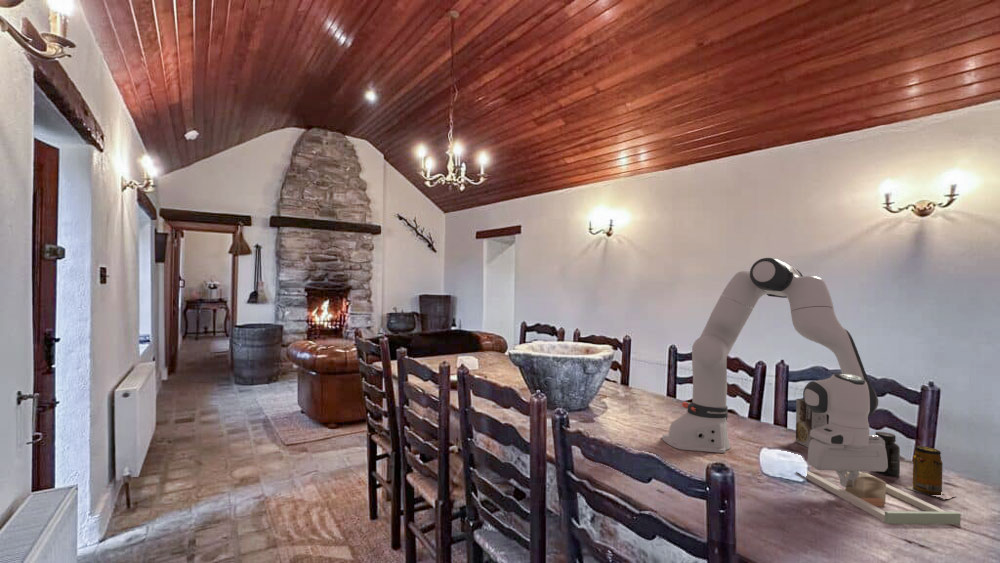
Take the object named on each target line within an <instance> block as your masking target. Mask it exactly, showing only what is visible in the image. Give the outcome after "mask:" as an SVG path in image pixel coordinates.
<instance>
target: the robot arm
mask: <svg viewBox="0 0 1000 563" xmlns="http://www.w3.org/2000/svg"><path fill="white" fill-rule="evenodd" d="M765 295H767V296H768V297H774V298H781V299H782V298H785V299H787V300H788V303H789V308H790V315H791V316H790V317H791V322H792V324H793V327H794V330H795V331H796V332H797V333H798V334H799V335H800V336H801V337H803V338H805V339H807V340H809V341H811V342H815V343H816V344H819V345H821V346H823V347H825V348H827V349H828V350H830V351H831V352H832V353H833V354H834V356H835V357H836V360H837V364H838V365H839V368H840V371H841V372H836V373H833V374H832V375H831V376H830V377H828V378H825V379H818V380H812V381H809V382H808V383H807V384H806V385H805V386H804V388H803V393H802V399H803V400H804V403H805V404H806V406H807V407H808V408H809V409H810V410H811V411H813V412H815V413H819V414H828V415H829V424H826V425H824V426H821V427H818V428H815V429H812V430H811V431H810V436H811V437H813V438H814V439H812V440H811V441H810V443H809V448H807V449H808V450H807V462H808V464H809V465H810V466H811V467H812V468H814V469H816V470H818V471H835V472H836V475H837V476H838V477H839V484H840V486H841V487H843V488H844V487H845V488H846V487H854V484H855V480H856V479H857V477H858V476H859V471H860V472H874V471H886V469H887V468H888V460H887V453H886V449H885V441H884V440H883V439H882V438H881V437H880V436H877V435H875V434H874V435H871V434H870V424H869V419H868V418H870V416H872V415H873V414H874V413H875V412H876V411H877V409H878V406H879V398H878V395H877V393H876V391H875V389H874V387H873V386H872V384H871V382H870V380H869V378H868V375H867V373H866V370H865V367H864V365H863V362H862V359H861V357H860V353H859V351H858V348H857V346H856V342H855V341H854V339H853V336H852V335H851V333H850V332H849V331H848V330H847V329H846V328H845V327H843V325H842V324H841V323H840V321H839V320H838V318H837V316H836V313H835V310H834V304H833V301H832V297H831V293H830V290H829V289H828V286H827V284H826V282H825V281H824V280H823V279H822V278H821V277H818V276H815V275H804V276H803V275H802V273H801V271H799V270H798V269H796V268H795V267H794V266H793V265H791V264H789V263H787V262H784V261H782V260H780V259H778V258H774V257H763V258H760V259H757V261H755V262H754V263H753V264H752V266H751V267H750V270H749V271H747V270H741V271H738V272H737V273H735V274H734V275H733V277H732V278H731V279H730V281H728V283H727V285H726V286H725V288H724V289H723V291H722V292H721V294H720V296H719V298H718V300H717V302H716V304H715V305H714V307H713V309H712V312H711V313H710V315H709V318H708V320H707V322H706V324H705V327H704V328H703V331H702V333H701V334H700V336H699V337H698V338H697V339H695V341H694V342H693V345H692V347H691V362H692V363H691V364H692V365H691V367H692V401H691V402H690V403H688V402H686V401H682V402H681V406H682V408H683V409H684V408H685V409H687V411H686V412H685V413H684V414H682V415H681V416H679V417H677V418H676V419H675V420H673V421H671V423H670V425H669V430H668V433H664V434H662V437H661V439H662V440H663V441H664V443H666V444H668V445H669V446H671V447H673V448H675V449H678V450H683V451H695V452H709V453H722V454H725V453H726V450H730V448H731V444H730V440H729V435H728V427H727V421H728V416H729V414H728V412H729V411H728V408H729V407H728V405H727V400H728V399H727V397H728V396H727V395H728V376H727V375H728V374H727V372H728V368H727V365H728V364H727V363H728V360H727V359H728V356H729V354H730V352H731V350H733V349H732V348H733V346H734V345H735V343H736V341H737V339H738V337H739V335H740V334H741V332H742V330H743V327H744V326H745V325H746V323H747V321H748V319H749V317H750V315H751V314H752V312H753V311H754V308H755V306H756V305H757V303H758V302H759V299H760V298H761V297H763V296H765ZM847 471H848V472H850V473H849V475H848V477H847V478H846V475H847Z"/></svg>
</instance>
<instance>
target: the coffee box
mask: <svg viewBox="0 0 1000 563" xmlns="http://www.w3.org/2000/svg"><path fill="white" fill-rule="evenodd" d="M795 402H796V405H795V406H796V410H795V442H796V443H797V444H800V445H802V446H804V447H805V448H807V449H808V448H809V443H810V441H811V440H812V439H814V438H813V437H811V436H810V431H811V430H812V429H815V428H818V427H821V426H824V425H826V424H829V415H828V414H819V413H815V412H813V411H811V410H810V409H809V408H808V407H807V406H806V404H805V403H804V400H803V398H796V401H795Z"/></svg>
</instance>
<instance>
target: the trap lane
mask: <svg viewBox="0 0 1000 563" xmlns="http://www.w3.org/2000/svg"><path fill="white" fill-rule="evenodd" d="M806 470H807V469H806ZM847 472H848V471H847ZM859 473H863V471H859ZM805 479H807V480H808V481H810V482H812V483H814V484H816V485H818V486H820V487H821V488H823V489H825V490H827V491H828V492H830V493H832V494H834V495H836V496H837V497H839V498H840V499H842V500H843V501H844V500H845V501H846V502H848V503H849V504H852V505H853V506H856V507H858V508H859V509H861V510H862V511H865V512H866V513H868V514H870V515H872V516H874V517H876V518H877V519H879V520H881V521H882V522H884V523H886V524H888V525H961V519H962V518H961V517H962V516H961V515H962V514H961V513H960V512H958V511H946V510H944V509H942V508H940V507H938V506H936V505H933V504H931V503H929V502H926V500H922V499H921V498H918V497H916V496H914V495H912V494H909V493H907V492H906V491H903V490H901V489H899V488H897V487H894V486H892V485H890V484H888V483H886V494H888V495H892V496H893V497H895V498H897V499H900V500H902V501H904V502H905V503H909V504H910V505H913V506H914V507H916V508H918V509H921V510H922V511H918V510H917V511H913V510H912V511H911V510H909V511H906V510H884V509H881V508H880V507H885V501H884V500H882V499H880V498H859V497H857V496H855V495H853V494H851V493H849V492H847V491H846V490H845V489H843V488H841V487H839V486H837V485H836V484H834V483H832V482H830V481H828V480H827V479H825V478H822V477H821V476H819V475H817V474H815V473H813V472H812V471H809V470H807V476H806V478H805Z"/></svg>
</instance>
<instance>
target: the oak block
mask: <svg viewBox="0 0 1000 563" xmlns="http://www.w3.org/2000/svg"><path fill="white" fill-rule="evenodd" d="M849 473H850V472H847V475H845V476H846V478H847V477H848V475H849ZM886 484H887V482H886V481H884V480H883V479H881V478H878V477H876V476H874V475H871V474H870V473H869V472H862V473H859V476H858V477H857V479H856V480H855V484H854V487H845V489H844V490H845V491H847V492H849V493H851V494H853V495H855V496H857V497H859V498H880V499H882V500H884V502H886V497H887V496H886V494H887V492H886Z"/></svg>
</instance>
